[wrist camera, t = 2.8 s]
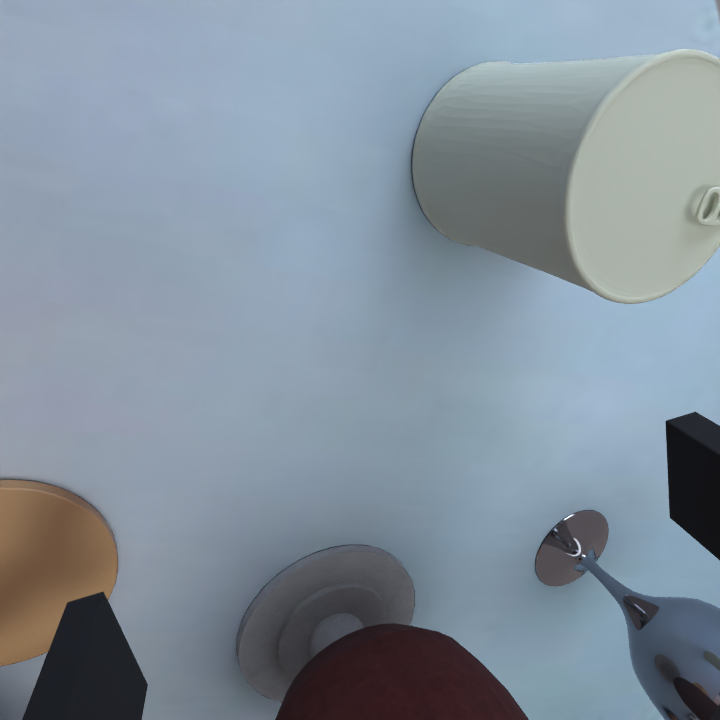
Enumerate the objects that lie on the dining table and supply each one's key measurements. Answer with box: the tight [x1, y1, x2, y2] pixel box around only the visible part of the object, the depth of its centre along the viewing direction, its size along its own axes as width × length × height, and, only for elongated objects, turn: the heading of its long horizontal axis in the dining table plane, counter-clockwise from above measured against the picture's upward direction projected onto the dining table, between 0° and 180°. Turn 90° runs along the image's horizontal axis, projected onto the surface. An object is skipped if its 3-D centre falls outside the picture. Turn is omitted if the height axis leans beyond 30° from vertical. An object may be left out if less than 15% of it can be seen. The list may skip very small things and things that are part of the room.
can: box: [412, 49, 720, 304], centre depth 27 cm, size 9×9×12 cm
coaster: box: [0, 480, 118, 666], centre depth 30 cm, size 11×11×1 cm
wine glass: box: [535, 510, 720, 720], centre depth 42 cm, size 8×8×15 cm
